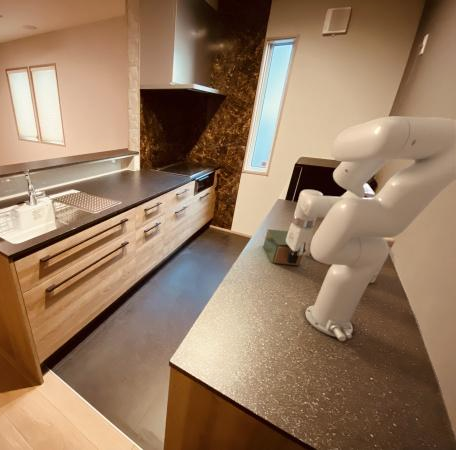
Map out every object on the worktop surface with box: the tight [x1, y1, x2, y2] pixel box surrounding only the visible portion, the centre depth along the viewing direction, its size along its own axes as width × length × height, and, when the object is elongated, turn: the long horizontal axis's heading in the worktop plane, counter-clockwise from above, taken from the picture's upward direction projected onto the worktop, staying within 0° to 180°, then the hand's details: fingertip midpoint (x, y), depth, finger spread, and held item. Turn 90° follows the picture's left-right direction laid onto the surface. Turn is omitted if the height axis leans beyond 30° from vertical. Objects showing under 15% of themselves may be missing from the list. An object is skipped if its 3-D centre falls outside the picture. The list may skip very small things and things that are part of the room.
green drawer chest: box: [262, 229, 300, 266], centre depth 113 cm, size 15×12×10 cm
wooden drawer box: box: [273, 246, 305, 266], centre depth 111 cm, size 15×10×8 cm
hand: (291, 262), depth 103 cm, fingers closed
